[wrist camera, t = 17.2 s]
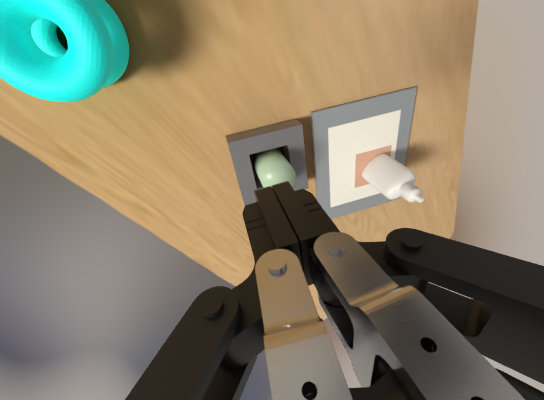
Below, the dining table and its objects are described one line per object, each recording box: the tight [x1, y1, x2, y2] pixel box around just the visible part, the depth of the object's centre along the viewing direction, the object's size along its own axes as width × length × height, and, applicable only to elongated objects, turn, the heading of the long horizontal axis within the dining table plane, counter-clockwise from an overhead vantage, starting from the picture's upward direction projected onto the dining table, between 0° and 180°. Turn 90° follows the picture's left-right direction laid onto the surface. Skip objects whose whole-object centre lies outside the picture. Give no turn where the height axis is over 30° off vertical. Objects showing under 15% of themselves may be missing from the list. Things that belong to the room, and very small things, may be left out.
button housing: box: [226, 119, 308, 205], centre depth 40 cm, size 11×11×3 cm
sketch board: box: [311, 87, 417, 219], centre depth 46 cm, size 22×18×1 cm
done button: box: [253, 148, 296, 188], centre depth 38 cm, size 5×5×6 cm
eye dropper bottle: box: [362, 154, 424, 203], centre depth 42 cm, size 4×6×12 cm
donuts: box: [0, 0, 129, 102], centre depth 24 cm, size 10×10×10 cm
